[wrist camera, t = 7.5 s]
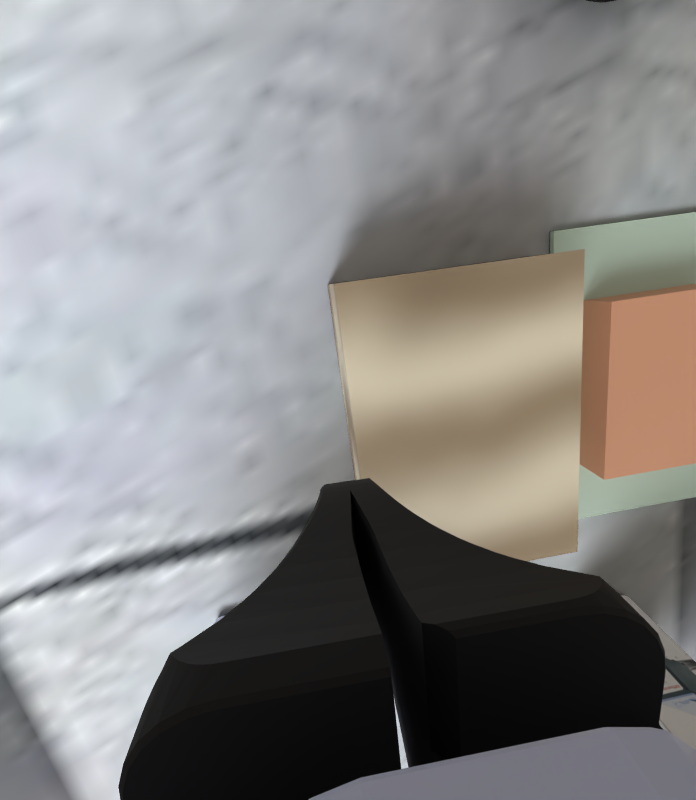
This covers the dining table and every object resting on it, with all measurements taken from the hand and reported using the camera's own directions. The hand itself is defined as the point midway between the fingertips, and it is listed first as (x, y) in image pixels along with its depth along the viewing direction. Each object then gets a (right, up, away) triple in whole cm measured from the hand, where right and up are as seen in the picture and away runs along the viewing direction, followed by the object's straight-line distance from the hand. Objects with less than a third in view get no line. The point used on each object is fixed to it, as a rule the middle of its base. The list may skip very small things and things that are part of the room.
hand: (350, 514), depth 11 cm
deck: (+5, +3, +11) cm, 12 cm away
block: (+15, +4, +9) cm, 18 cm away
